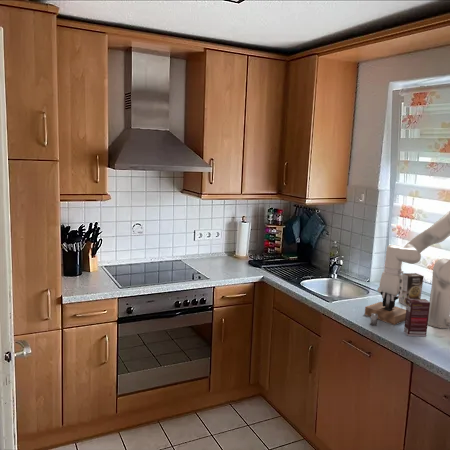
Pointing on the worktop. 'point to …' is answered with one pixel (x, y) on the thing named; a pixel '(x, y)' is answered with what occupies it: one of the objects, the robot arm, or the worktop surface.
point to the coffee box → (411, 287)
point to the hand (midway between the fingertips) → (388, 306)
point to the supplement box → (416, 317)
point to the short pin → (374, 319)
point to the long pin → (387, 302)
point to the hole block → (386, 313)
